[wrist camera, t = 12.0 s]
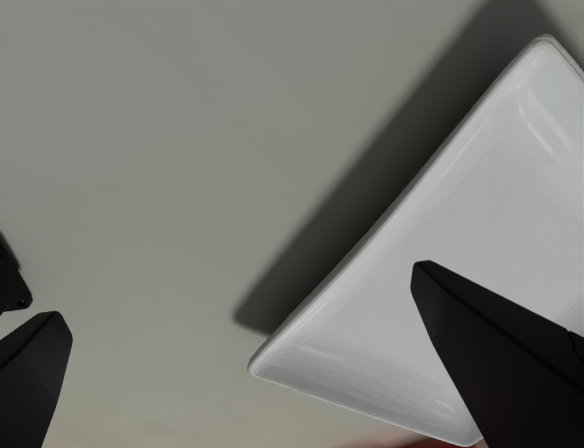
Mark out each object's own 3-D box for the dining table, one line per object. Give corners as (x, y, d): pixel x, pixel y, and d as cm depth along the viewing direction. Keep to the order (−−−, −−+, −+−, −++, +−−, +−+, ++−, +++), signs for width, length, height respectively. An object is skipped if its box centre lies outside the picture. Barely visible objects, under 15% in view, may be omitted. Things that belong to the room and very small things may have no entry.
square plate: (684, 237, 30) (740, 265, 27) (449, 417, 39) (469, 453, 36) (504, 22, 19) (560, 23, 16) (239, 337, 29) (240, 379, 25)
